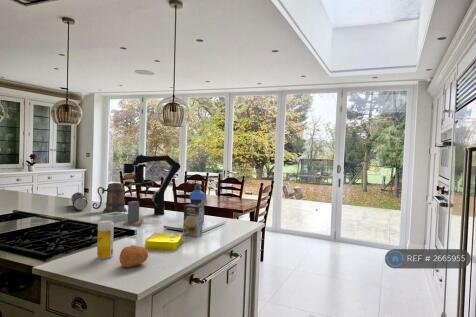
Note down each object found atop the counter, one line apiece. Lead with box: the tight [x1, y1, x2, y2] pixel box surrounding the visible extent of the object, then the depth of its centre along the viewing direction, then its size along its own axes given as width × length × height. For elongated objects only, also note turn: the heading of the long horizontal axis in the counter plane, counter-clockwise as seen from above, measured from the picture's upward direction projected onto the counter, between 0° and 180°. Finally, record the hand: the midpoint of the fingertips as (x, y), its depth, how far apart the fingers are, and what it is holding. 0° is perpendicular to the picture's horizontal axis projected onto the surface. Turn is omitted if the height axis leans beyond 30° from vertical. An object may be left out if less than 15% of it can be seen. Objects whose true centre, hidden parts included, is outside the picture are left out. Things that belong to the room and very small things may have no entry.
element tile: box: [144, 232, 184, 252], centre depth 155 cm, size 15×15×5 cm
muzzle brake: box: [71, 192, 88, 211], centre depth 241 cm, size 10×28×10 cm, turn 30°
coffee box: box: [182, 203, 204, 238], centre depth 176 cm, size 9×6×16 cm
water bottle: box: [189, 183, 206, 224], centre depth 203 cm, size 9×9×25 cm
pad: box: [122, 219, 144, 227], centre depth 196 cm, size 10×10×2 cm
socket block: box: [99, 212, 128, 223], centre depth 204 cm, size 12×11×4 cm
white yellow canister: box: [96, 220, 115, 260], centre depth 136 cm, size 6×6×15 cm
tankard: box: [92, 182, 128, 214], centre depth 232 cm, size 24×17×20 cm
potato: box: [118, 244, 149, 268], centre depth 128 cm, size 9×11×8 cm
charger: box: [127, 200, 140, 223], centre depth 196 cm, size 5×4×12 cm
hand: (138, 196), depth 222 cm, fingers open, 9 cm apart
